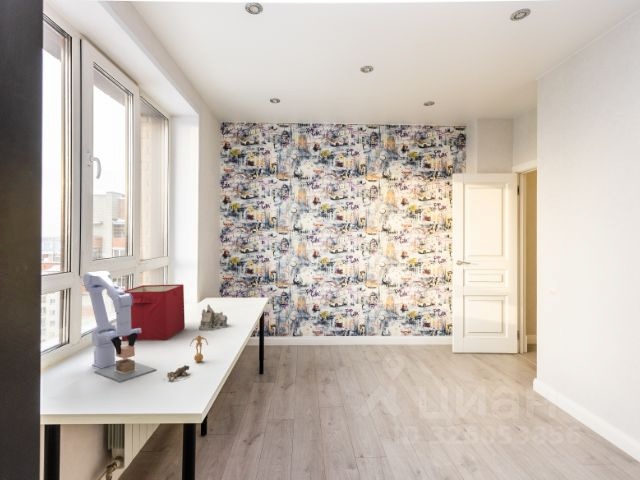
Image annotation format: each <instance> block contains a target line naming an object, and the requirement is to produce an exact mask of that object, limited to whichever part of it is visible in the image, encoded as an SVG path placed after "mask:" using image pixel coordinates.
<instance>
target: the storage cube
mask: <svg viewBox="0 0 640 480" xmlns="http://www.w3.org/2000/svg"><path fill="white" fill-rule="evenodd" d="M123 291H124V292H125V293H130V294H131V295H132V297H133V305H132V306H131V329H137V328H141V333H136V334H137V335H138V337H137V339H136V341H168V340H170V339H171V338H172V337H174V336H175V335H176V334H178V333H179V332H181V331H183V330H184V329H185V328H186V326H185V325H186V323H185V319H186V318H185V294H184V293H185V292H184V291H185V289H184V284H182V283H181V284H178V283H177V284H144V285H138V286H136V287H133V288H129V289H126V290H123ZM121 339H122V341H123V342H125V341H128V338H127V336H123V337H121Z"/></svg>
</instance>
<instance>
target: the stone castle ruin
mask: <svg viewBox="0 0 640 480" xmlns="http://www.w3.org/2000/svg"><path fill="white" fill-rule="evenodd" d="M206 308H207V310H206V309H205V308H204V309H202V312H201V320H200V325H199V327H198V331H201V332H202V331H204V332H206V331H213V330H214V331H215V330H220V329H225V328H227V327H229V326H228V316H227V314H225V315H224V314H223V311H220V312H215V311H214V310H213V308H212V307H211V304H207V307H206Z"/></svg>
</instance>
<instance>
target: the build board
mask: <svg viewBox="0 0 640 480" xmlns="http://www.w3.org/2000/svg"><path fill="white" fill-rule="evenodd" d="M155 371H157V368H155V367H151V366H149V365H145V364H142V363H138V362H135V370H132V371H129V372H126V373H123V372H120V371H118V370H116V364H115V365H112V366H108V367H105V368H100V369H97V370H94V374H98V375H100V376H103V377H105V378H107V379H111V380H114V381H115V382H117V383H122V382H125V381H128V380H131V379H134V378H138V377H141V376H144V375H147V374H150V373H152V372H155Z"/></svg>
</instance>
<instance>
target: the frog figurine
mask: <svg viewBox="0 0 640 480" xmlns="http://www.w3.org/2000/svg"><path fill="white" fill-rule="evenodd" d="M189 370H190V366H189V365H186V364H185V365H184V366H182V367H177V368H176V370H175V372H174V371H170V372H167V373H166V374H167V375H165V376H164V377H163V378H162V379H163V381H166V382H168V383H176V382H180V381H181V382H182V381H184V380H187V379H189V378H190V373H188V372H187V371H189ZM183 377H185V378H183Z"/></svg>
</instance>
